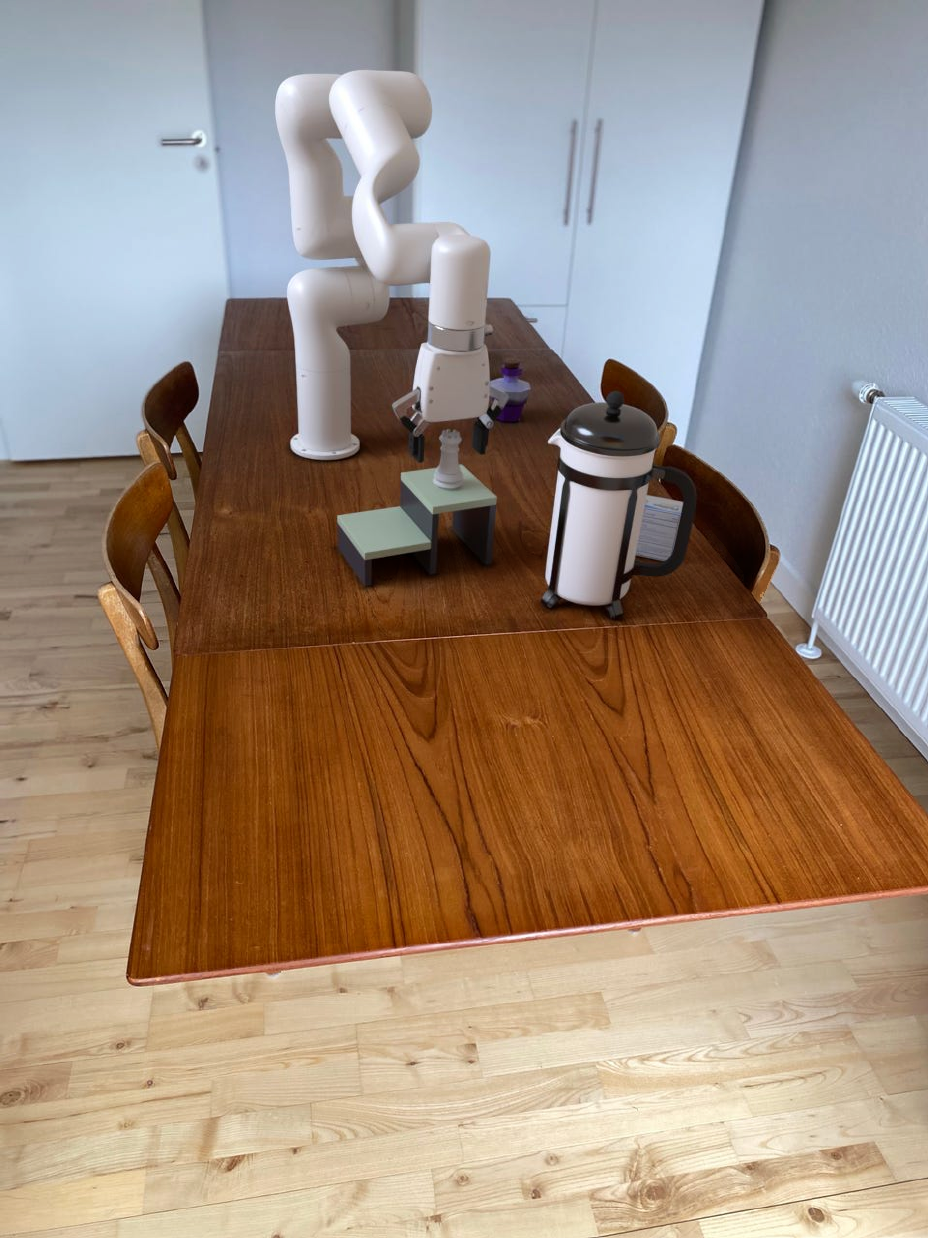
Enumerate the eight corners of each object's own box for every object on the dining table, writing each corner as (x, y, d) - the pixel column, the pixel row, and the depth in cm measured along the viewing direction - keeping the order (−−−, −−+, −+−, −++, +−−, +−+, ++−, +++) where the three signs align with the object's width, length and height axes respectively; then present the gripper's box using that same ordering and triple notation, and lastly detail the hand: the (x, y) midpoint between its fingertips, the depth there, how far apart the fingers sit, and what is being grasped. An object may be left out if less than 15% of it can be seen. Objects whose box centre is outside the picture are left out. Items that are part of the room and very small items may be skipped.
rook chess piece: (431, 477, 136) (434, 426, 132) (461, 478, 137) (465, 426, 132) (433, 490, 133) (435, 438, 128) (464, 491, 133) (468, 438, 129)
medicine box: (676, 551, 145) (686, 501, 140) (672, 564, 141) (682, 513, 136) (626, 541, 147) (635, 491, 142) (621, 553, 143) (630, 503, 138)
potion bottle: (515, 408, 194) (521, 351, 187) (535, 422, 188) (542, 364, 181) (479, 412, 191) (483, 354, 184) (498, 427, 184) (503, 368, 178)
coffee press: (574, 637, 123) (606, 422, 106) (513, 580, 134) (535, 378, 118) (676, 611, 130) (722, 405, 114) (611, 558, 142) (644, 365, 125)
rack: (337, 547, 139) (336, 481, 133) (457, 528, 147) (461, 464, 141) (364, 587, 130) (364, 517, 124) (491, 563, 138) (497, 497, 132)
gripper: (500, 323, 129) (490, 438, 139) (384, 331, 122) (382, 451, 132) (526, 340, 123) (513, 458, 133) (406, 349, 117) (401, 473, 126)
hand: (448, 454), depth 132 cm, fingers open, 9 cm apart
